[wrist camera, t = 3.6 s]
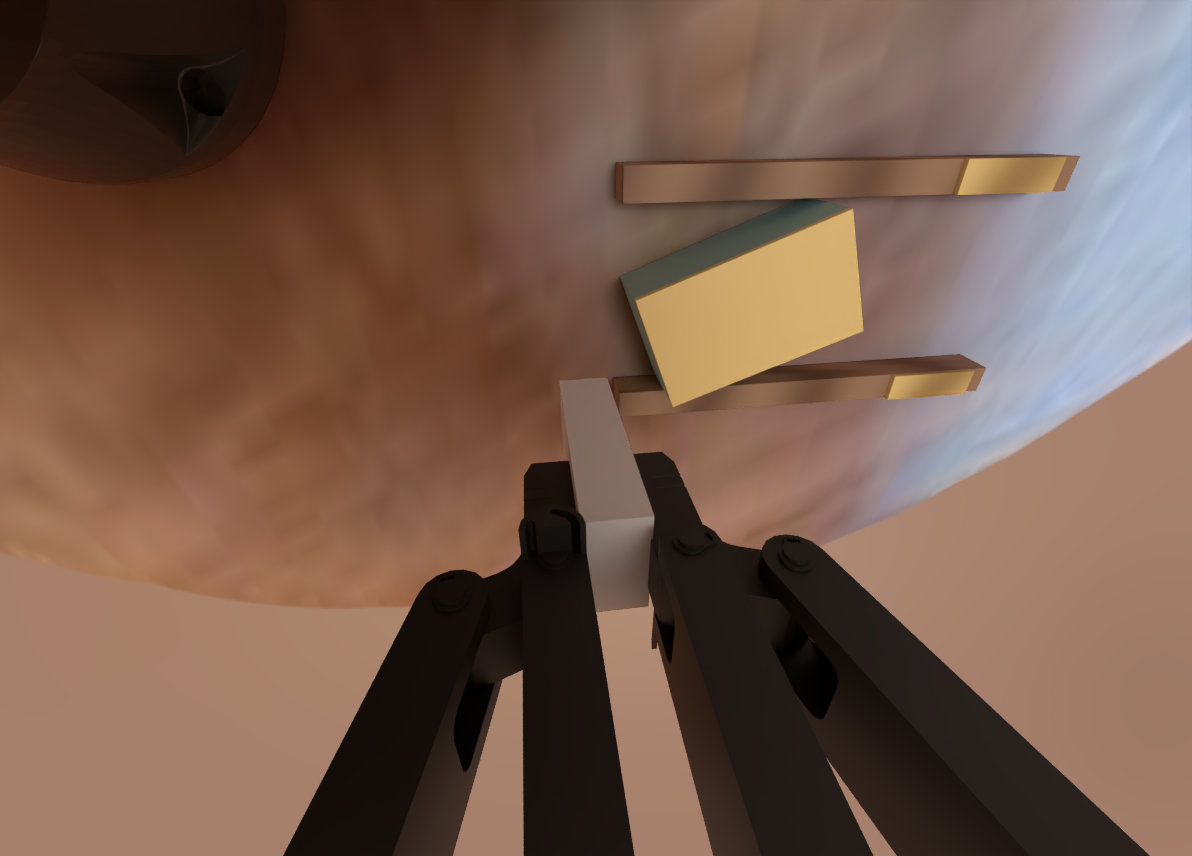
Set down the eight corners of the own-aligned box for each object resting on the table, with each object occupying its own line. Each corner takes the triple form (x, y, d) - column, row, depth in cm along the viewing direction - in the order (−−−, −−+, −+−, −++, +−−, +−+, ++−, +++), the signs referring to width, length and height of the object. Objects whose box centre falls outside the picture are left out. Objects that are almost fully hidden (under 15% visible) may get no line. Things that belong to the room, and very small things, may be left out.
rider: (653, 370, 29) (672, 407, 25) (618, 275, 26) (635, 300, 22) (817, 303, 28) (863, 330, 24) (802, 195, 25) (852, 208, 21)
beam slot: (613, 400, 29) (620, 419, 27) (616, 162, 23) (625, 165, 21) (951, 376, 32) (979, 392, 30) (1042, 154, 25) (1086, 156, 23)
